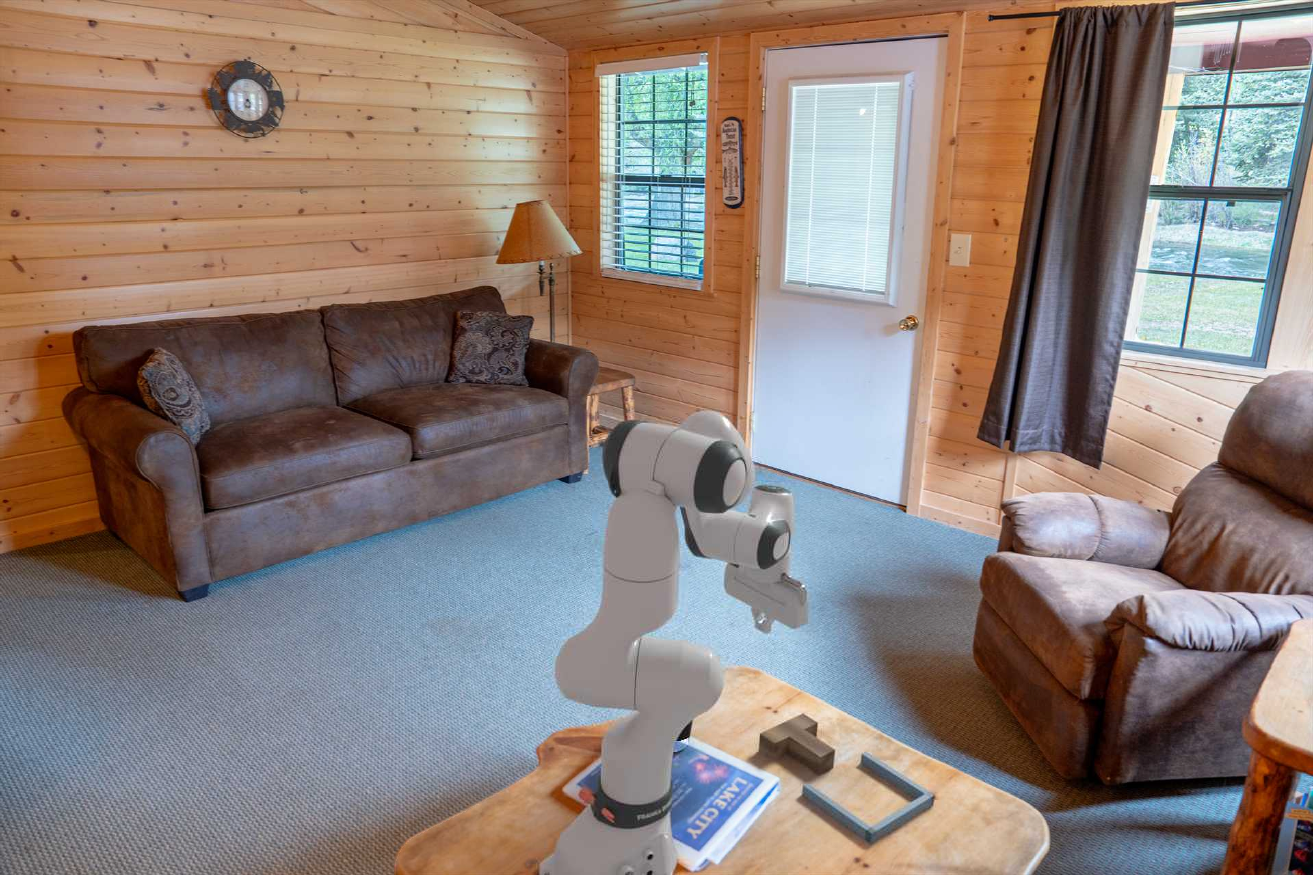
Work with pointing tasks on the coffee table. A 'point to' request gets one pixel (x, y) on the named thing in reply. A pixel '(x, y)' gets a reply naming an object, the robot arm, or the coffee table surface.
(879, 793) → the coffee table surface
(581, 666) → the robot arm
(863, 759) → the slate bay
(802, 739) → the walnut T block
